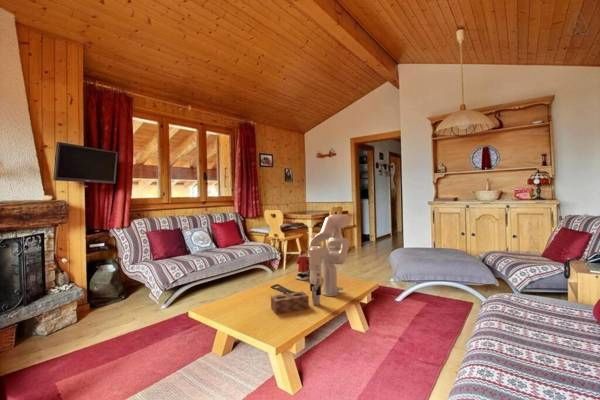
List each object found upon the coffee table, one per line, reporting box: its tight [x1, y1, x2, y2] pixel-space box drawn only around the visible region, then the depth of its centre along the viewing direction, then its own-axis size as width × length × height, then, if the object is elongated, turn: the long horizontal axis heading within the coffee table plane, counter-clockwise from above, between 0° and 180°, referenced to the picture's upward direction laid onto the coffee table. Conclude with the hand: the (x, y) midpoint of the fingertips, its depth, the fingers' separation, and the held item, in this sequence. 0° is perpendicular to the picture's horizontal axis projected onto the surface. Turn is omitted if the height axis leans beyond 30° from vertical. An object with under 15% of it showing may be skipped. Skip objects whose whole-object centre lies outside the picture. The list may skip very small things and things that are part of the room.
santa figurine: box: [295, 249, 310, 281], centre depth 262 cm, size 17×14×25 cm
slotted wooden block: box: [270, 291, 310, 315], centre depth 194 cm, size 22×10×8 cm, turn 111°
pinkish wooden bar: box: [311, 286, 321, 307], centre depth 199 cm, size 4×2×12 cm, turn 111°
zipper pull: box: [270, 283, 296, 294], centre depth 215 cm, size 9×7×25 cm
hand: (315, 293), depth 199 cm, fingers open, 9 cm apart
